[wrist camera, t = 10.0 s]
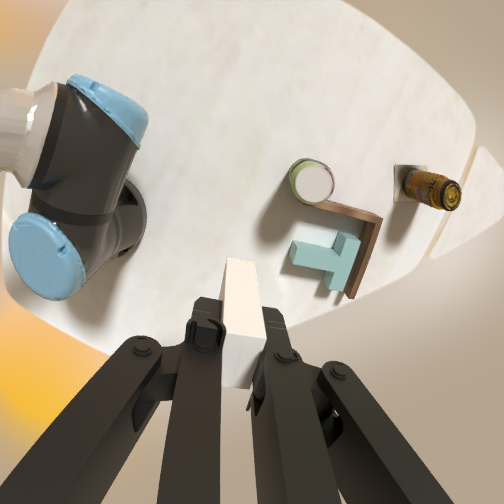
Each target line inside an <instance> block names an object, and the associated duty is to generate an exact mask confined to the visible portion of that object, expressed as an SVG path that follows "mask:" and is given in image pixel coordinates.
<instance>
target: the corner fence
mask: <svg viewBox="0 0 504 504" xmlns="http://www.w3.org/2000/svg"><path fill="white" fill-rule="evenodd" d="M298 200H299V199H298ZM299 201H300V200H299ZM300 202H301V203H302V204H304V205H308V206H312V207H316V208H320V209H324V210H328V211H332V212H336V213H339V214H343V215H347V216H351V217H354V218H358V219H362V220H365V223H364V227H363V230H362V233H361V236H360V239H359V240H360V241H361V243H360V246H359V249H358V252H357V255H356V257H355V260H354V263H353V266H352V268H351V271H350V274H349V276H348V279H347V282H346V284H345V287H344V289H343V291H344V293H345V294H346V296H347V297H348V299H354V298H355V295H356V293H357V290H358V288H359V285H360V283H361V280H362V278H363V275H364V273H365V270H366V267H367V265H368V262H369V259H370V256H371V254H372V251H373V248H374V245H375V242H376V239H377V236H378V233H379V230H380V227H381V224H382V221H383V218H381V217H379V216H377V215H376V214H374V213H371V212H367V211H364V210H361V209H357V208H354V207H350V206H347V205H343V204H340V203H336V202H332V201H329V200H326V201H324V202H322V203H320V204H314V205H312V204H306V203H304V202H302V201H300Z"/></svg>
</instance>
